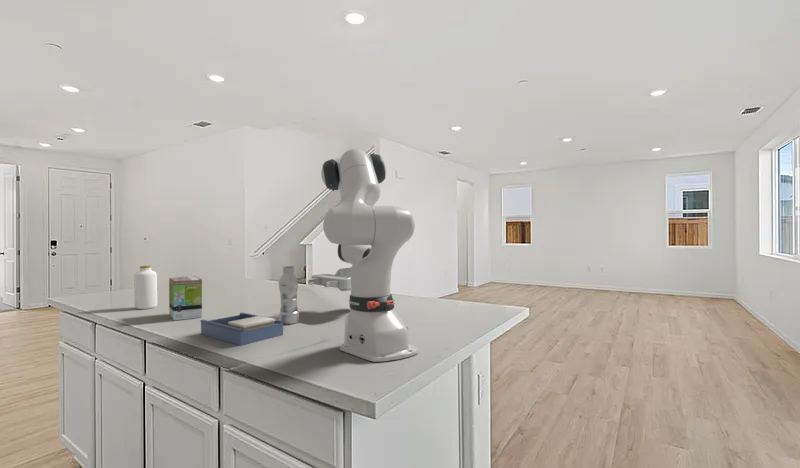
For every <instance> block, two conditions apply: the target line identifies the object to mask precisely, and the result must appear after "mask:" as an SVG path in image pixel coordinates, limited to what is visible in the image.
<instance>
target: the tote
mask: <svg viewBox="0 0 800 468" xmlns="http://www.w3.org/2000/svg"><path fill="white" fill-rule="evenodd" d="M255 316H258V315H256V314H251V313H246V312H240V313H239V314H238V315H233V316H227V317H220V318H216V319H209V320H207V319H200V334H201V335H203V336H206V337H210V338H213V339H216V340H219V341H223V342H226V343H231V344H233V345H236V346H241V347H242V346H246V345H249V344H255V343H258V342H261V341H265V340H269V339H270V340H271V339H274V338H277V337H278V338H279V337H281V336H284V324H283V321H282V320H280V319H276V318H274V319H275V321H274V324H272V325H268V326H263V327H259V328H254V329H250V330H245V331H244V329H240V328H236V327H232V326H229V324H228V322H230V321H235V320H240V319H245V318H250V317H255Z"/></svg>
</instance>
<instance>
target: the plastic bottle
mask: <svg viewBox="0 0 800 468" xmlns="http://www.w3.org/2000/svg"><path fill="white" fill-rule="evenodd" d="M294 267H295V266H282V273H283V274H282V275H281V277H280V278H279V280H278V287H279V295H280V311H279V317H278V320H282V321H283V325H295V324H298V323H299V321H300V313H299V309H298V307H299V306H298V288H299V281H298V278H297V276H296V275H295V273H294V272H295V268H294Z"/></svg>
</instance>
